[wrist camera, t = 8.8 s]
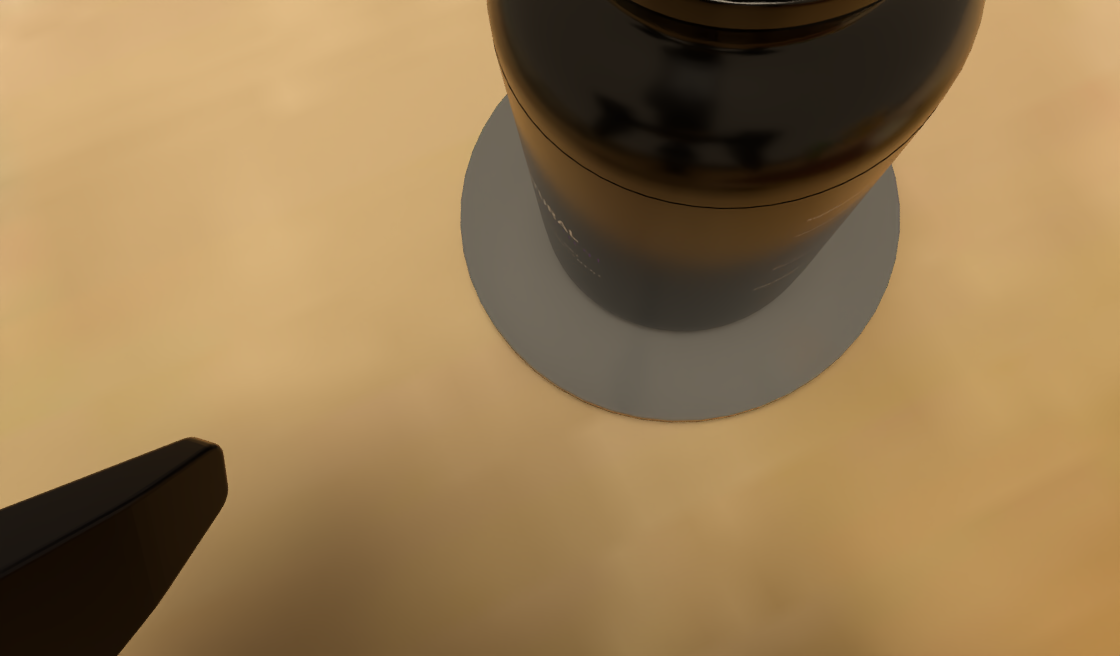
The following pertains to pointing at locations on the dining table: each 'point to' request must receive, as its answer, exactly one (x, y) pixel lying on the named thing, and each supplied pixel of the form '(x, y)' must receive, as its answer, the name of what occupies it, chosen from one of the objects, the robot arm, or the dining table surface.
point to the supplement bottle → (714, 135)
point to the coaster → (651, 354)
